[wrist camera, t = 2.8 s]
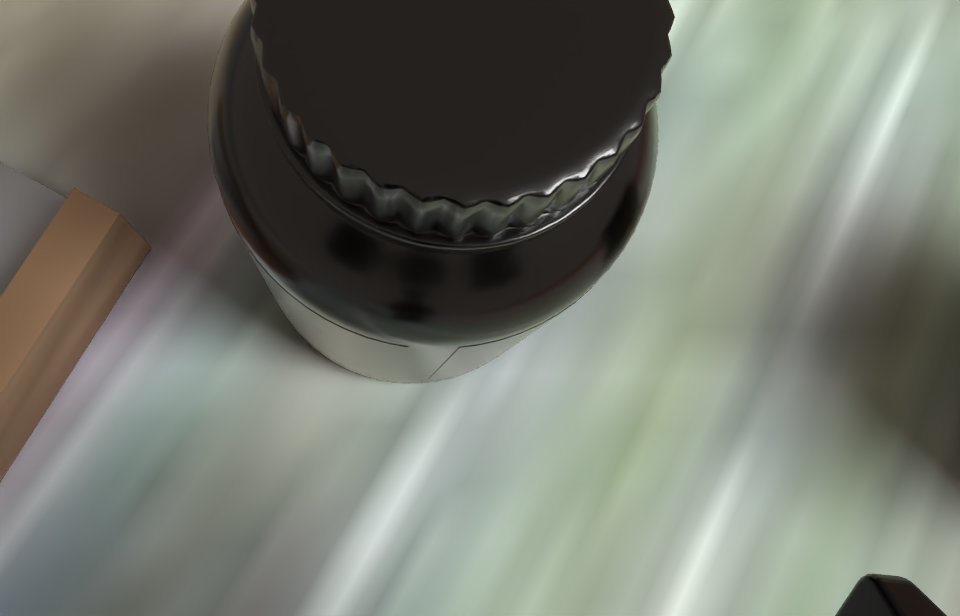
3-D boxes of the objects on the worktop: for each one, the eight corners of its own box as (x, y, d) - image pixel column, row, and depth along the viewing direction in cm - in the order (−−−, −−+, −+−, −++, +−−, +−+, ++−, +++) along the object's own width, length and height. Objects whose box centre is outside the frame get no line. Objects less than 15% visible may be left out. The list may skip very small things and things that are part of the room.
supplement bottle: (459, 62, 23) (584, -361, 11) (598, 299, 22) (885, 127, 10) (206, 186, 21) (34, -144, 9) (349, 442, 21) (355, 431, 9)
